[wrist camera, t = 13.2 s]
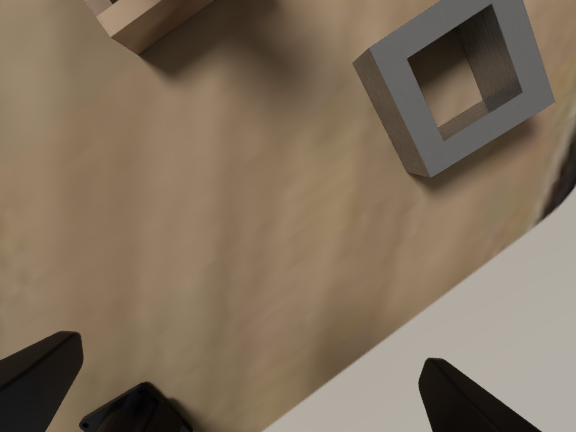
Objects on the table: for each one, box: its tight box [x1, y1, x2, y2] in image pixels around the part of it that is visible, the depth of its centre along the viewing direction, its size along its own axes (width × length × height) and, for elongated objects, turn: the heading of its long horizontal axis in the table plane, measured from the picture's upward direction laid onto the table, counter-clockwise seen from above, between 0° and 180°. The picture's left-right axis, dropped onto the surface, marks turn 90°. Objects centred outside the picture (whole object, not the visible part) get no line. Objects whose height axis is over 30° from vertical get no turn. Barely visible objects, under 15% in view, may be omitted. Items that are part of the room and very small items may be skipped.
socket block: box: [353, 0, 555, 178], centre depth 17 cm, size 8×8×3 cm
